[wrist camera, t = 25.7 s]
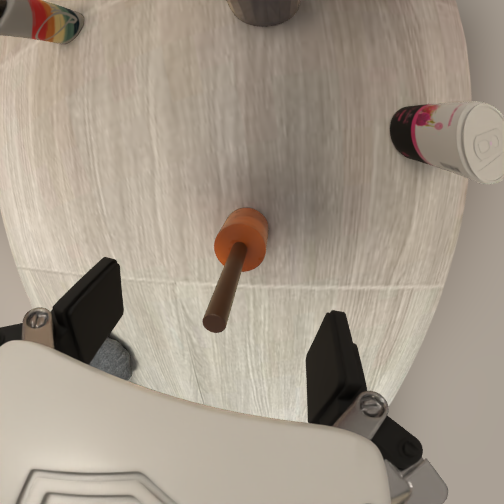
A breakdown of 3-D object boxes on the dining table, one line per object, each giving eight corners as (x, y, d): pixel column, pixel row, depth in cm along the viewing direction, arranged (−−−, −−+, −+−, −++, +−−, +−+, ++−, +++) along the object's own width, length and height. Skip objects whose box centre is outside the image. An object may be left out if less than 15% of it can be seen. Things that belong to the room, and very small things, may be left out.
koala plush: (59, 329, 48) (13, 388, 31) (99, 309, 43) (39, 385, 25) (108, 382, 54) (75, 443, 36) (156, 373, 49) (121, 453, 31)
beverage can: (380, 115, 26) (450, 111, 13) (422, 101, 24) (501, 95, 11) (400, 166, 28) (473, 197, 15) (439, 149, 26) (520, 172, 13)
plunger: (252, 199, 32) (221, 275, 16) (277, 235, 34) (270, 336, 18) (216, 222, 34) (160, 309, 18) (241, 256, 35) (209, 360, 19)
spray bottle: (83, 35, 23) (-21, 15, 5) (57, 50, 24) (-43, 43, 6) (85, 7, 21) (-9, -21, 3) (59, 22, 22) (-33, 8, 4)
